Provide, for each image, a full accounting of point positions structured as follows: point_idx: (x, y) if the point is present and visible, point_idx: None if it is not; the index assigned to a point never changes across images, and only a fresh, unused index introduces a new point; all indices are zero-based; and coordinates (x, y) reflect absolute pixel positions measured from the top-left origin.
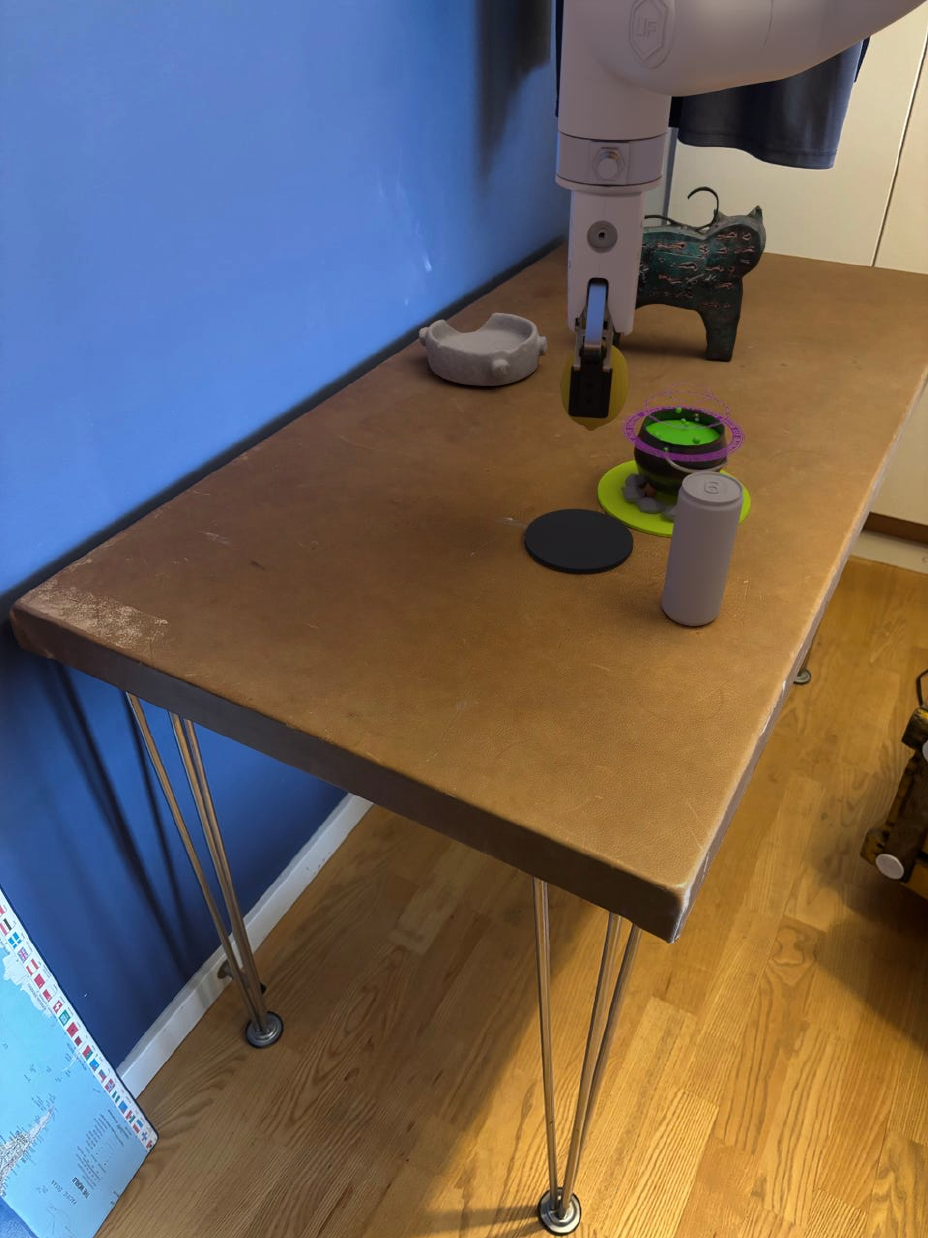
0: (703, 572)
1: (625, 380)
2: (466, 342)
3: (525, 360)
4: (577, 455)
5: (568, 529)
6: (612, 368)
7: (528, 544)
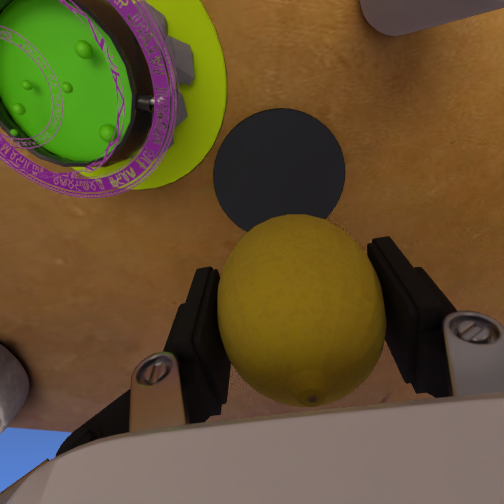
0: None
1: (323, 247)
2: None
3: None
4: (89, 229)
5: (266, 196)
6: (423, 309)
7: None
